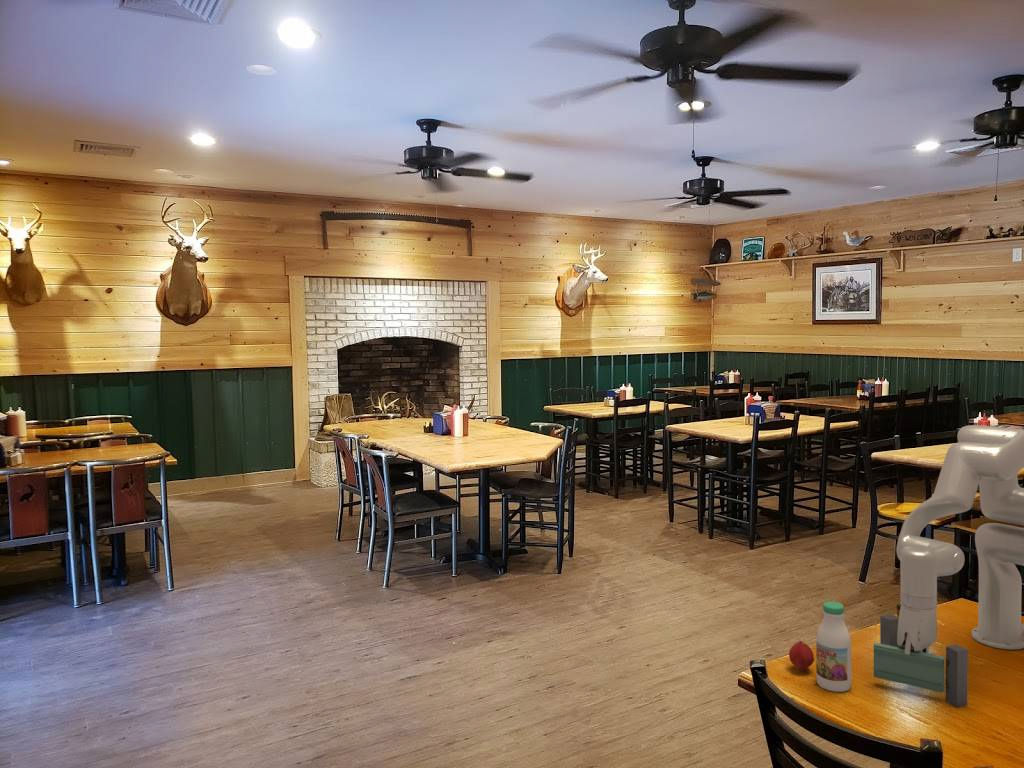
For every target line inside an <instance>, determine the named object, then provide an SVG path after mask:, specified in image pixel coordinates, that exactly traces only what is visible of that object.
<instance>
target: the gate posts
mask: <svg viewBox="0 0 1024 768" xmlns="http://www.w3.org/2000/svg"><path fill="white" fill-rule="evenodd" d="M879 617H880V620H879V622H880V624H879V625H880V627H879V628H880V629H879V632H880V633H879V634H880V636H879V638H880V639H879V641H880V642H879V643H880V644H885V645H890V646H895V647H899V646H898V644H897V634H898V620H899V618H898V617H895V615H893V614H890V613H888V614H883V615H880V616H879ZM968 662H969V649H968V648H965V647H963V646H962V645H959V644H957V643H956V644H951V645H947V646H945V702H946V703H948V704H949V705H951V706H953V707H955V708H961V707H965V706H968V686H969V685H968V678H969V677H968V676H969V673H968V671H969V670H968V668H969V667H968V665H969V664H968Z"/></svg>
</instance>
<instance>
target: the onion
mask: <svg viewBox="0 0 1024 768" xmlns="http://www.w3.org/2000/svg"><path fill="white" fill-rule="evenodd" d="M788 657H789V661H790V663H791V664H792V665H793V666H794V667H795V668H796V669H798V670H799V671H802V672H803V671H805V670H806V669H808V668H809V667H811V666H812V665H813V663H814V660H815V657H814V652H813V650H812V649H811V646H809V645H808V644H807V643H805V642H804V640H803V639H799V641H798V642H795V643H794V644H793V645H792V646H791V647H790V649H789V652H788Z"/></svg>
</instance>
